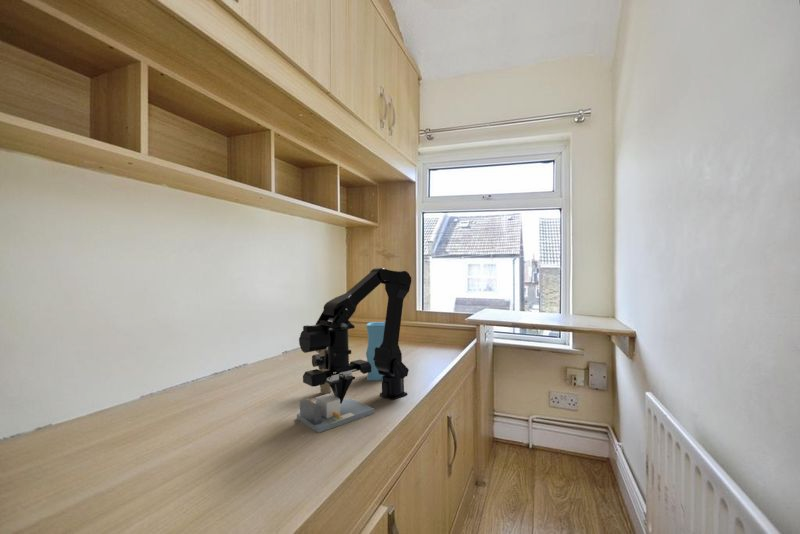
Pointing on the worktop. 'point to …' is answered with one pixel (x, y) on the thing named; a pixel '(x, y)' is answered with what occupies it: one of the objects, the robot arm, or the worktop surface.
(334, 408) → the block
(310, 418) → the dark grey upright slab
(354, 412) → the board
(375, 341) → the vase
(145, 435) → the worktop surface
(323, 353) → the handle
